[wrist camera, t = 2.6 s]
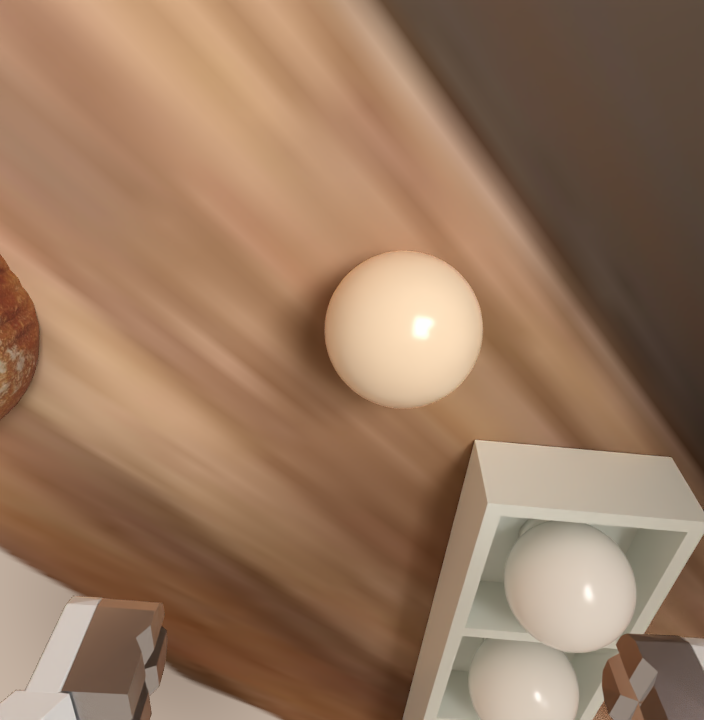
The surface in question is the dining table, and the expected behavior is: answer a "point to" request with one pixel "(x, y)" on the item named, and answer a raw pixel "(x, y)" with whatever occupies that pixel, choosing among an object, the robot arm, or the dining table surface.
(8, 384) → the bread roll
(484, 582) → the egg carton
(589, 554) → the white egg
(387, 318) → the tan egg
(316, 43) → the dining table surface
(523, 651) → the white egg
